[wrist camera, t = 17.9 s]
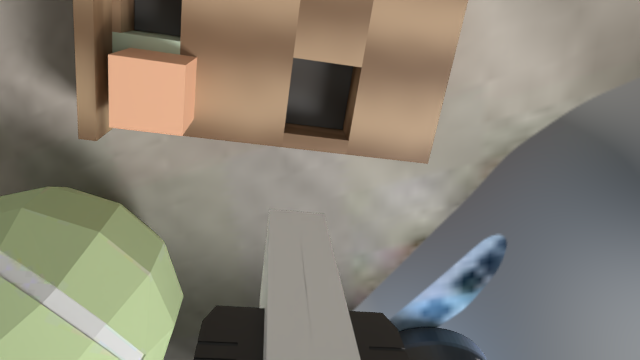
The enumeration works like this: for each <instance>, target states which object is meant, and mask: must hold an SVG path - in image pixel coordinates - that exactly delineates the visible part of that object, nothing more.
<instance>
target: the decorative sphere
mask: <svg viewBox="0 0 640 360" xmlns="http://www.w3.org/2000/svg"><path fill="white" fill-rule="evenodd" d="M182 300H183V293H182V290H181V287H180V284H179V282H178V279H177V276H176V273H175V270H174V267H173V265H172V262H171V259H170V256H169V253H168V251H167V248H166V245H165V242H164V241H163V240H162V239H161V238H160V237H159V236H158V235H157V234H156V233H155V232H154V231H152V230H151V229H150V228H149V227H148V226H147V225H145V224H144V223H143V222H142V221H141V220H139V219H138V218H137V217H136V216H135V215H134V214H132V213H131V212H130V211H129V210H128V209H126V208H125V207H124V206H123V205H122V204H120V203H117V202H114V201H111V200H107V199H104V198H101V197H98V196H95V195H91V194H88V193H85V192H82V191H78V190H75V189H72V188H69V187H43V188H38V189H33V190H28V191H24V192H19V193H14V194H9V195H4V196H0V360H163V359H164V356H165V353H166V350H167V347H168V344H169V341H170V338H171V335H172V332H173V329H174V326H175V323H176V319H177V316H178V313H179V309H180V306H181V303H182Z"/></svg>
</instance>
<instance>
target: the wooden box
mask: <svg viewBox="0 0 640 360" xmlns="http://www.w3.org/2000/svg"><path fill="white" fill-rule="evenodd" d="M467 3H468V0H73V18H74V43H75V67H76V91H77V115H78V139H84V140H93V141H97V140H98V139H100V138H101V137H102V136H103V135H105V134H106V133H107V132H109V131H110V130H111V129H112V128H110V127H109V87H108V54H111V53H114V52H118V51H121V50H124V49H127V48H137V49H144V50H151V51H158V52H165V53H172V54H179V55H186V56H193V57H197V69H196V88H195V106H194V120H193V121H192V123H191V124H190V126H189V127H188V128H187V130H186V131H185V133H184V134H183V136H190V137H198V138H207V139H216V140H225V141H233V142H242V143H251V144H260V145H268V146H277V147H286V148H295V149H304V150H312V151H321V152H330V153H339V154H347V155H356V156H365V157H374V158H382V159H391V160H400V161H409V162H417V163H426V164H428V161H429V157H430V153H431V149H432V145H433V141H434V137H435V132H436V128H437V124H438V120H439V116H440V112H441V108H442V104H443V100H444V96H445V92H446V88H447V84H448V80H449V76H450V72H451V68H452V64H453V60H454V55H455V51H456V47H457V43H458V39H459V35H460V31H461V27H462V23H463V19H464V15H465V11H466V7H467ZM137 30H140V31H137ZM144 31H147V32H144ZM151 32H153V33H151ZM158 33H160V34H158ZM165 34H167V35H165ZM172 35H174V36H172ZM179 36H181V37H179Z"/></svg>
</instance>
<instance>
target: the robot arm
mask: <svg viewBox="0 0 640 360" xmlns="http://www.w3.org/2000/svg"><path fill="white" fill-rule="evenodd" d="M194 360H487V358H486V356H485V355H484V353H483V352H482V350H481V349H480V348H479V347H478V346H477V345H476V344H475V343H474V342H473V341H472V340H470V339H468V338H467V337H465V336H464V335H461V334H459V333H457V332H454V331H451V330H447V329H441V328H414V329H409V330H404V331H400V332H398V329H397V328H396V327H395V326H394V325H393V324H392V323H391V322H390V321H389V320H388V319H387V318H386V316H385V315H384V314H383V313H375V312H356V311H348V307H347V303H346V299H345V295H344V291H343V287H342V283H341V279H340V275H339V271H338V267H337V263H336V259H335V255H334V251H333V247H332V243H331V239H330V235H329V231H328V227H327V223H326V219H325V215H324V214H323V213H311V212H299V211H287V210H275V209H269V216H268V226H267V235H266V244H265V254H264V263H263V273H262V282H261V291H260V308H251V307H232V306H216V307H215V308H214V309H213V310H212V311H211V312H210V313H209V314H208V316H207V317H206V318H205V319H204V320H203V321H202V325H201V329H200V334H199V338H198V344H197V347H196V351H195V356H194Z"/></svg>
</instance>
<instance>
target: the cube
mask: <svg viewBox="0 0 640 360" xmlns="http://www.w3.org/2000/svg"><path fill="white" fill-rule="evenodd" d="M196 69H197V57H193V56H186V55H179V54H172V53H165V52H158V51H151V50H144V49H137V48H127V49H124V50H121V51H118V52H114V53H111V54H108V87H109V127H110V128H119V129H127V130H136V131H144V132H153V133H161V134H170V135H178V136H183V134H184V133H185V131H186V130H187V128H188V127H189V126H190V124H191V123H192V121H193V120H194V106H195V88H196Z"/></svg>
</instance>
